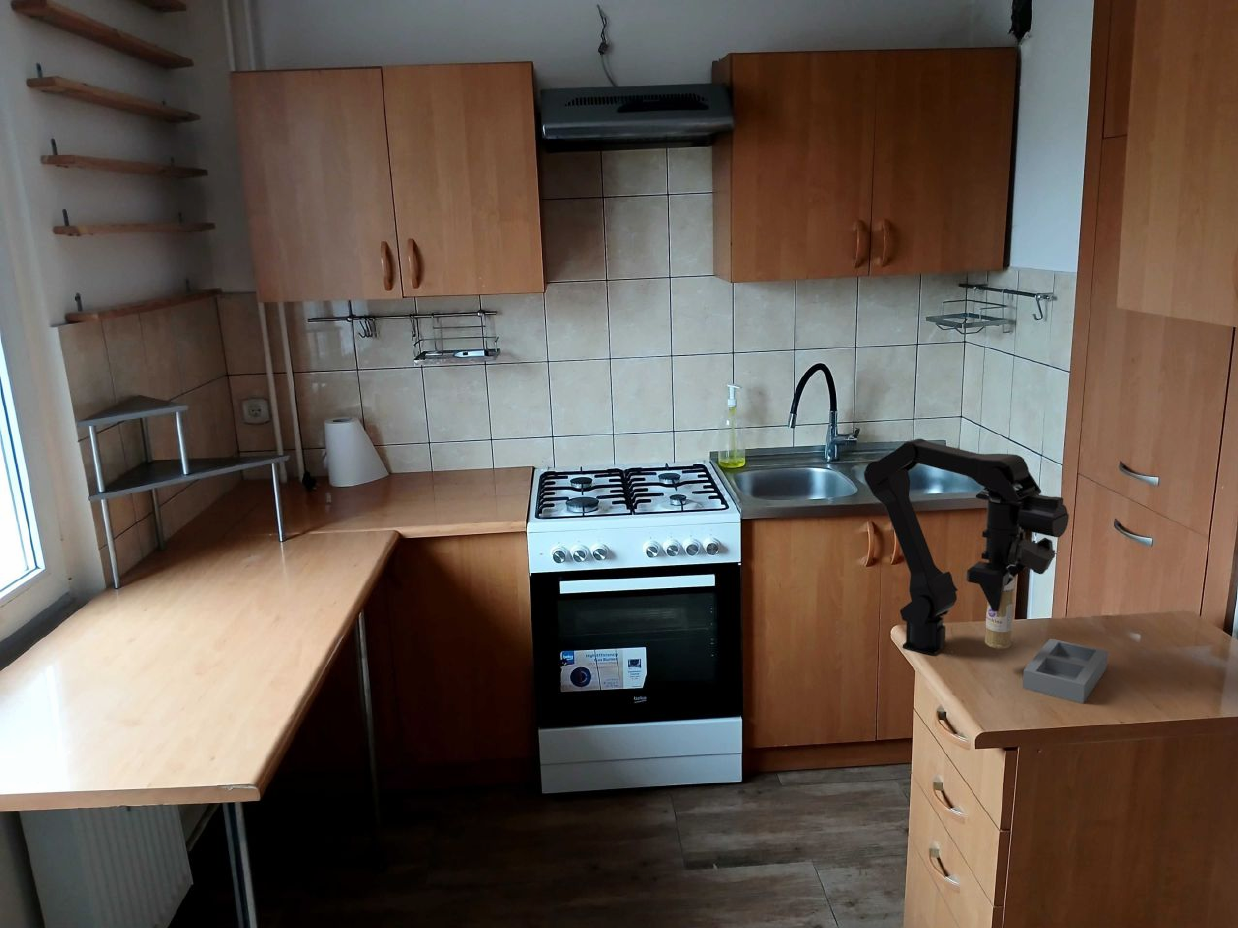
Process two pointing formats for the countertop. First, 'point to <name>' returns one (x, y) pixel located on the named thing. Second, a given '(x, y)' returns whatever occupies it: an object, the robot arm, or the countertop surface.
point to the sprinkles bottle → (1000, 620)
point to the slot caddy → (1065, 670)
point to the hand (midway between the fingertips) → (999, 606)
